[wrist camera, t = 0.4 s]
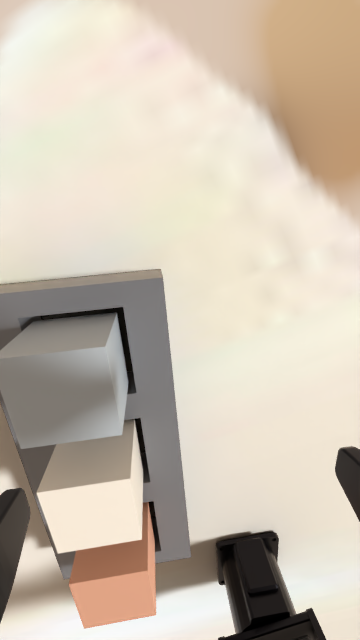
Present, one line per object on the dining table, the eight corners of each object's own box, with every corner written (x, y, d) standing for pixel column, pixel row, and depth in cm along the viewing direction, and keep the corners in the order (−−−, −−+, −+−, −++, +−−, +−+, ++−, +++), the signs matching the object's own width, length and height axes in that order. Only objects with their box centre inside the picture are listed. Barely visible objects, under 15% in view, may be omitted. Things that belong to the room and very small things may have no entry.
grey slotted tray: (186, 522, 27) (191, 557, 25) (72, 541, 27) (64, 579, 24) (160, 269, 19) (162, 277, 16) (-9, 285, 18) (-38, 297, 15)
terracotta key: (154, 539, 24) (156, 615, 20) (96, 549, 24) (84, 628, 19) (147, 498, 23) (147, 570, 18) (85, 508, 22) (68, 584, 18)
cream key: (143, 470, 22) (141, 539, 17) (77, 480, 21) (57, 553, 17) (134, 417, 20) (130, 478, 15) (63, 427, 20) (36, 492, 15)
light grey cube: (128, 381, 19) (122, 435, 14) (53, 391, 19) (20, 449, 14) (117, 312, 17) (105, 346, 13) (33, 321, 17) (-11, 360, 12)
